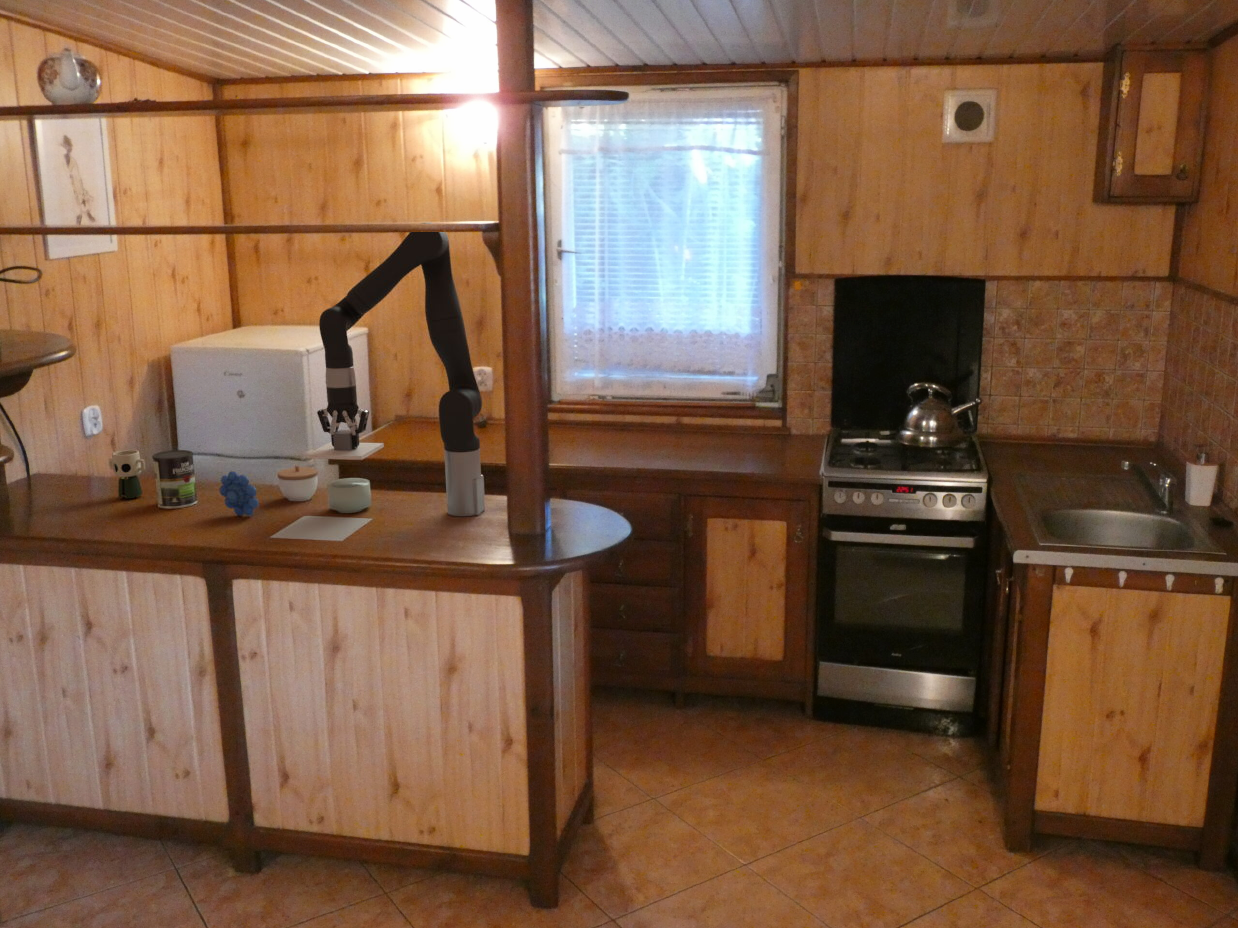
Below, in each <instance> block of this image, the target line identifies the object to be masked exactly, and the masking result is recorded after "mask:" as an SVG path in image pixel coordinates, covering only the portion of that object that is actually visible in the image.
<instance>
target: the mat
mask: <svg viewBox="0 0 1238 928" xmlns="http://www.w3.org/2000/svg"><path fill="white" fill-rule="evenodd" d="M372 520H373V518H363V517H344V516H343V517H341V516H340V517H339V516H321V515H318V516H317V515H304V516H302V517H300V518H299V519H297V520H295V521H294V522H292V523H291V524H289V525H287V526H285V527H284V528H282V529H280V530H279V531H277V532H276V533H274V534H273V535H271V536H270V537H269V538H271V539H273V538H274V539H290V540H291V539H293V540H314V541H329V542H331V541H332V542H343V541H344V540H345V539H348V538H349V536H351V535H353V534H354V533H355V532H357V531H359V530H360V529H361V528H362V527H364V526H365V525H366V524H368V523H370V521H372Z"/></svg>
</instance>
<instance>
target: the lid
mask: <svg viewBox="0 0 1238 928" xmlns="http://www.w3.org/2000/svg"><path fill="white" fill-rule="evenodd" d="M351 435H352V434H351V431H350V429H340V430H339V429H338V431H337V432H335V433H333V439H334V446H332V441H330V442H328V443H325V444H324V445H322V446H320V447H318V448H317V449H315V450H312V451H311V452H308V453H307V454H306V458H307V459H313V460H314V459H317V460H318V459H319V460H347V461H348V460H351V461H355V460H357V461H362V460H364V459H366V458H368V457H369V456H371V455H372V454H375V453H376V452H377V451H379V450H382V449H383V448H384V447H385V443H384V442H359V446H358V447H357V448H356V449H352V438H351Z"/></svg>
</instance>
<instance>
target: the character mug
mask: <svg viewBox="0 0 1238 928" xmlns="http://www.w3.org/2000/svg"><path fill="white" fill-rule="evenodd" d="M108 465H109V466H108V467H109V469H110V470H112V471H113V474H114V475H115V476H116V477H117V478H118V489H117V490H118V498H119V499H123V496H124V498H125V499H126V500H127V499H134V498H135V497H136V498H138V497H140V496H142V495H143V490H142V485H141V482H140V478H139V476H138V475H140V474H142V471H143V472H144V471H145V470H146V463H145V459H142V458H141V456H140V451H139V450H138V449H124V450H117V451H114V452H112V454H111V457H109V458H108ZM136 498H135V499H136Z"/></svg>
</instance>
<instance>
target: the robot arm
mask: <svg viewBox="0 0 1238 928" xmlns="http://www.w3.org/2000/svg"><path fill="white" fill-rule="evenodd" d="M422 224H434V223H432V222H423V223H422ZM449 242H450V240H449V236H448V233H447V232H446V231H445V232H411V231H409V233H408V234H407V235H406V237H404V239H403V240H402V241H401V242H400V244H399V245H398V246H397V248H396V249H394V251H393V252H392V253H391V254H390V255H389V256H388V257H387V258H386V259H385V260H384V261H383V262H382V263H380V264H379V265H378V266H377V267H375V268H374V269H373V270H372V271H371V272H369V273H368V274H367V275H366V276H364V277H363V278H362V279H361V280H360V281H359V282H357V284H355V285H353V287H352V288H350V290H349V291H348V292H347V293H346V296H345V297H343V298H342V299H341V300H340V301H339V302H337V303H336V304H335V305H333V306H332V307H329V308H327V309H325V310H324V311H323V312H321V315H320V317H319V321H318V323H319V333H320V334H319V335H320V337H321V341H322V345H323V348H324V361H325V362H324V363H325V385H326V386H325V387H326V397H327V398H326V399H327V407H326V408H321V409H319V410H317V411H316V414H317V417H318V419H319V422H320V425H321V428H322V431H323V432H324V433H329V435H330V438H331V441H330V442H332V446H334V439H333V433H335V432H337V431H339V427H340V425H341V423H345V424H346V426H347V427H348V428H349V430H350V431H351V434H352V435H351V438H352V449H356V448H357V447H358V446H359V443H360V434H361V433H363V432H365V431H366V429H367V425H368V420H369V416H370V411H369V409H365V410H364V409H362V408H360V406H359V405H358V395H357V383H356V381H357V379H356V371H355V366H354V353H353V348H352V346H351V345H350V344H349V341H348V340H349V339H348V331H349V330H350V329H352V327H354V326H355V325H356V324H357V323H358V321H360V319H361V318H362V317H364V316H365V314H366V313H368V312H370V311H371V310H372V309H373V308H375V307H376V306H377V305H378V304H379V303H380V302H382V301H383V300H384V299H385V298H386V297H387V296H388V295H389V294H391V292H392V291H393V290H394V289H395V287H396V286H397V285H398V284H399V283H400V282H401V281H402V280H403V279H404V278H405V277H406V276H407V275H408V274H409V273H411V272H412V271H413V270H415V269H416V268H418V267H419V266H421V268H422V273H423V279H424V287H425V290H424V293H425V294H424V296H425V297H424V314H425V321H426V325H427V330H428V335H429V339H430V341H431V344H432V347H433V348H434V350H435V352H436V353H437V355H438V358H440V360H441V362H442V364H443V367H444V369H445V372H446V377H447V383H448V391H447V392H444V394H442V396H441V397H440V400H439V403H438V418H439V421H438V422H439V432H440V438H441V440H442V442H443V448H444V451H443V452H444V466H445V467H444V468H445V470H444V471H445V487H446V488H445V490H446V492H445V493H446V509H447V514H448V515H449V516H454V517H471V516H479V515H481V513H482V512H483V511H485V509H486V503H485V502H486V501H485V480H484V478H485V477H484V474H482V468H481V467H482V466H481V443H480V442H481V441H480V437H479V436H477V435H476V434H475V428H474V419H475V418H477V417H478V416H479V414H480V413H481V411H482V407H483V401H482V399H483V398H482V396H481V393H480V388H479V385H478V383H477V379H476V376H475V372H474V369H473V366H472V365H473V364H472V361H471V354H470V349H469V345H468V339H467V334H466V327H465V323H464V322H465V321H464V317H463V312H462V307H461V305H460V300H459V295H458V292H457V289H456V284H455V280H454V277H453V271H452V270H453V269H452V262H451V261H452V260H451V253H450V252H451V250H450V243H449ZM357 415H358V418H359V422H358V421H357V419H356V416H357ZM328 416H330V418H331V422H330V420H329V417H328Z"/></svg>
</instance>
